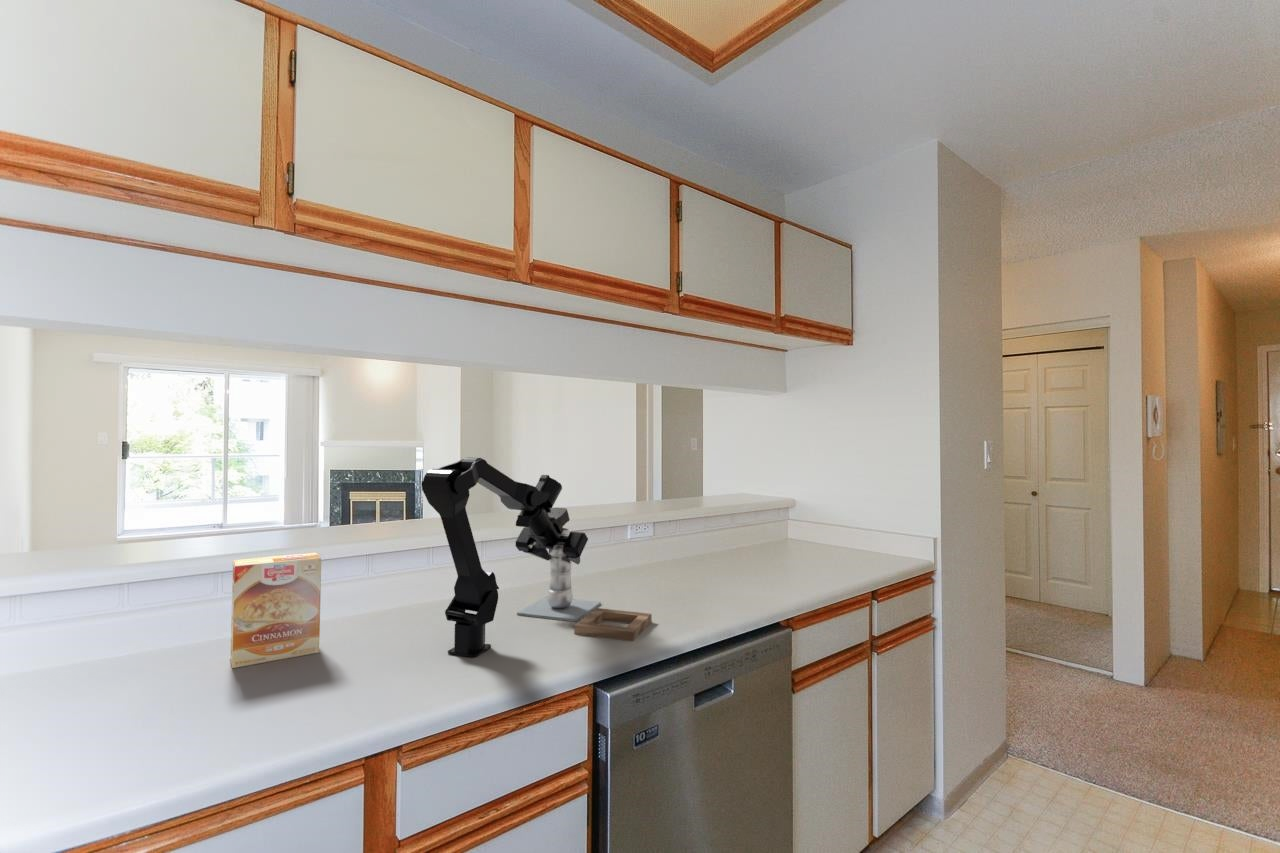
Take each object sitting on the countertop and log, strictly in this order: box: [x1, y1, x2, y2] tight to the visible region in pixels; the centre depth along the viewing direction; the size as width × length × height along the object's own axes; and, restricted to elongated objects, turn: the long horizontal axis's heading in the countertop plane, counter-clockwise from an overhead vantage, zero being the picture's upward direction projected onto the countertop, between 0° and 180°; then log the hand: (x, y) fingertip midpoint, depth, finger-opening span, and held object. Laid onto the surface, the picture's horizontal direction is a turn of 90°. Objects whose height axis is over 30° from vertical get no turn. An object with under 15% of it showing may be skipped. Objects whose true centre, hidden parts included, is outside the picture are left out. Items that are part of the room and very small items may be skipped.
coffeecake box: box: [230, 551, 322, 669], centre depth 121 cm, size 15×7×20 cm, turn 126°
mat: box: [516, 595, 602, 623], centre depth 155 cm, size 16×16×1 cm
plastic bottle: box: [546, 527, 574, 608], centre depth 155 cm, size 6×7×20 cm
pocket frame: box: [573, 607, 653, 642], centre depth 141 cm, size 14×14×2 cm
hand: (563, 561), depth 156 cm, fingers open, 9 cm apart
